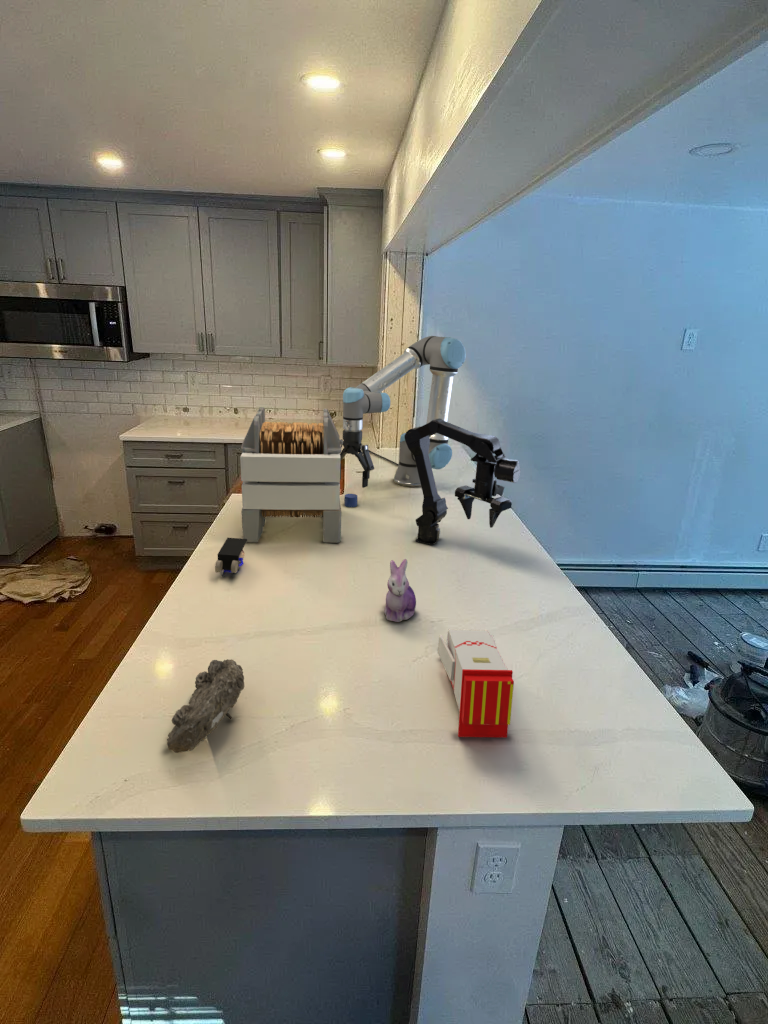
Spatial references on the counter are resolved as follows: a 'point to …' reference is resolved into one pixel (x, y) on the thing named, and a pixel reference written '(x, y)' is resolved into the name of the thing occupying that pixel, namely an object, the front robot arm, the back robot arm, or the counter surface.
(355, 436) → the back robot arm
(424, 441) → the front robot arm
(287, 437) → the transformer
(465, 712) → the toy
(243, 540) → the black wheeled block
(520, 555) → the counter surface
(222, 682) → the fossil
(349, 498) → the cylinder
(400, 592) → the figurine
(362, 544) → the counter surface
